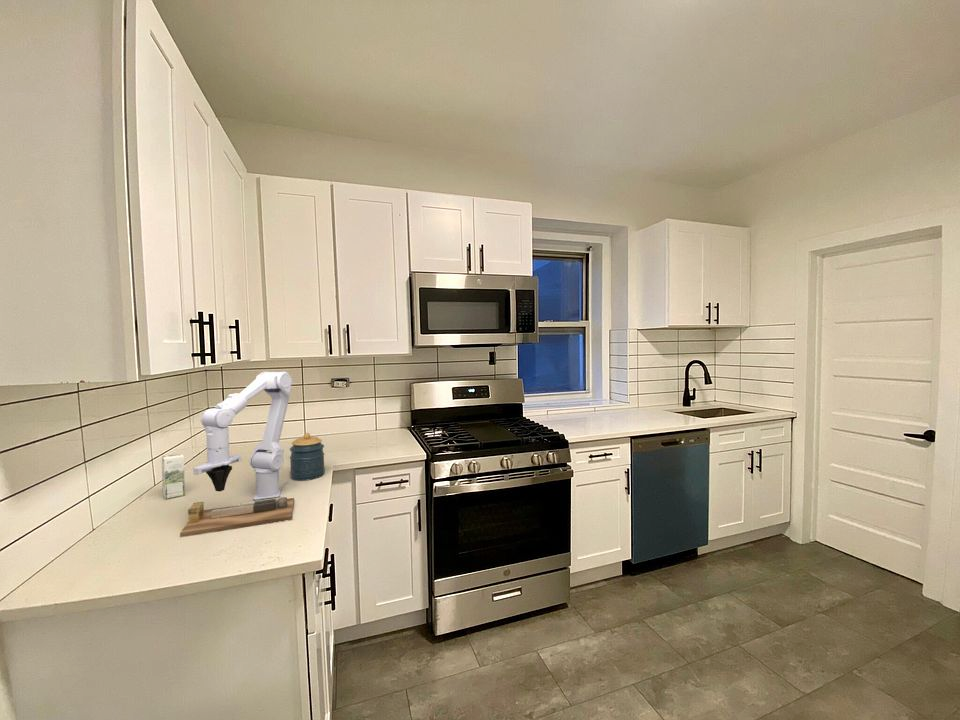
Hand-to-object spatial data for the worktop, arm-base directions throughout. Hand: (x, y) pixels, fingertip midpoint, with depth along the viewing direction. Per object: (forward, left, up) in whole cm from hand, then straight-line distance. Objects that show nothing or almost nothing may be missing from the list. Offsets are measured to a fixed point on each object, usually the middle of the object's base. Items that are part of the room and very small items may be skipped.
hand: (219, 490), depth 124 cm
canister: (-33, +24, -9) cm, 42 cm away
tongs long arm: (+4, +7, -7) cm, 11 cm away
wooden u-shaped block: (+3, -6, -7) cm, 9 cm away
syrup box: (-28, -19, -8) cm, 35 cm away
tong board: (+3, +7, -8) cm, 11 cm away
